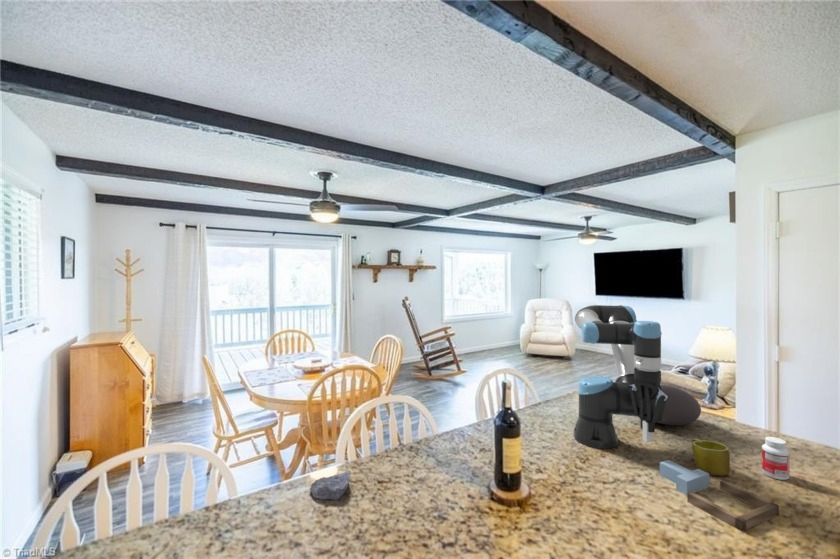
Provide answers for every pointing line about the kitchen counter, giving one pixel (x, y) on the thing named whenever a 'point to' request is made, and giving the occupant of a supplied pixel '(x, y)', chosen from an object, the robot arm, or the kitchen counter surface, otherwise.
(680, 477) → the blue t-shaped block
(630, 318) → the robot arm
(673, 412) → the smooth stone
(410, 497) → the kitchen counter surface
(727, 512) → the bay
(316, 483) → the rock
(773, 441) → the pill bottle
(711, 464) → the mug
